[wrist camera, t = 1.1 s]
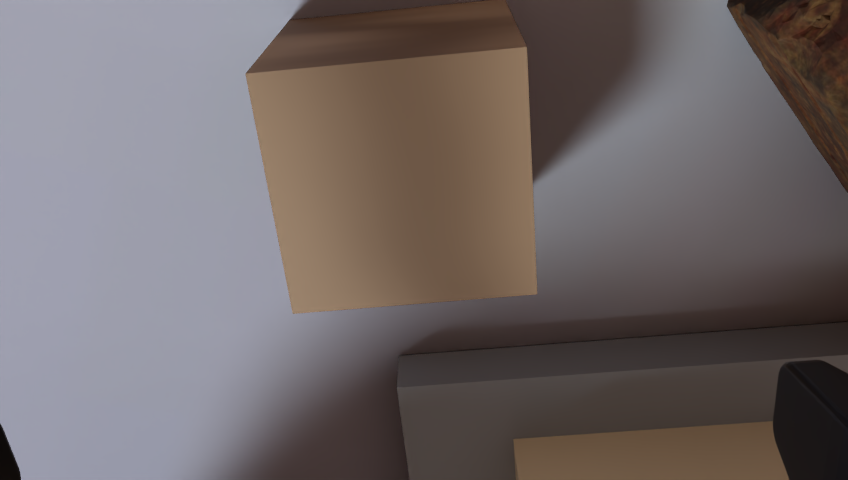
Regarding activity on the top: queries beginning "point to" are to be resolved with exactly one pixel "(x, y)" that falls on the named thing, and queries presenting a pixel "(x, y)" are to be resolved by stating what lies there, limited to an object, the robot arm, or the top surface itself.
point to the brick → (805, 65)
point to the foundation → (607, 406)
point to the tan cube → (399, 156)
